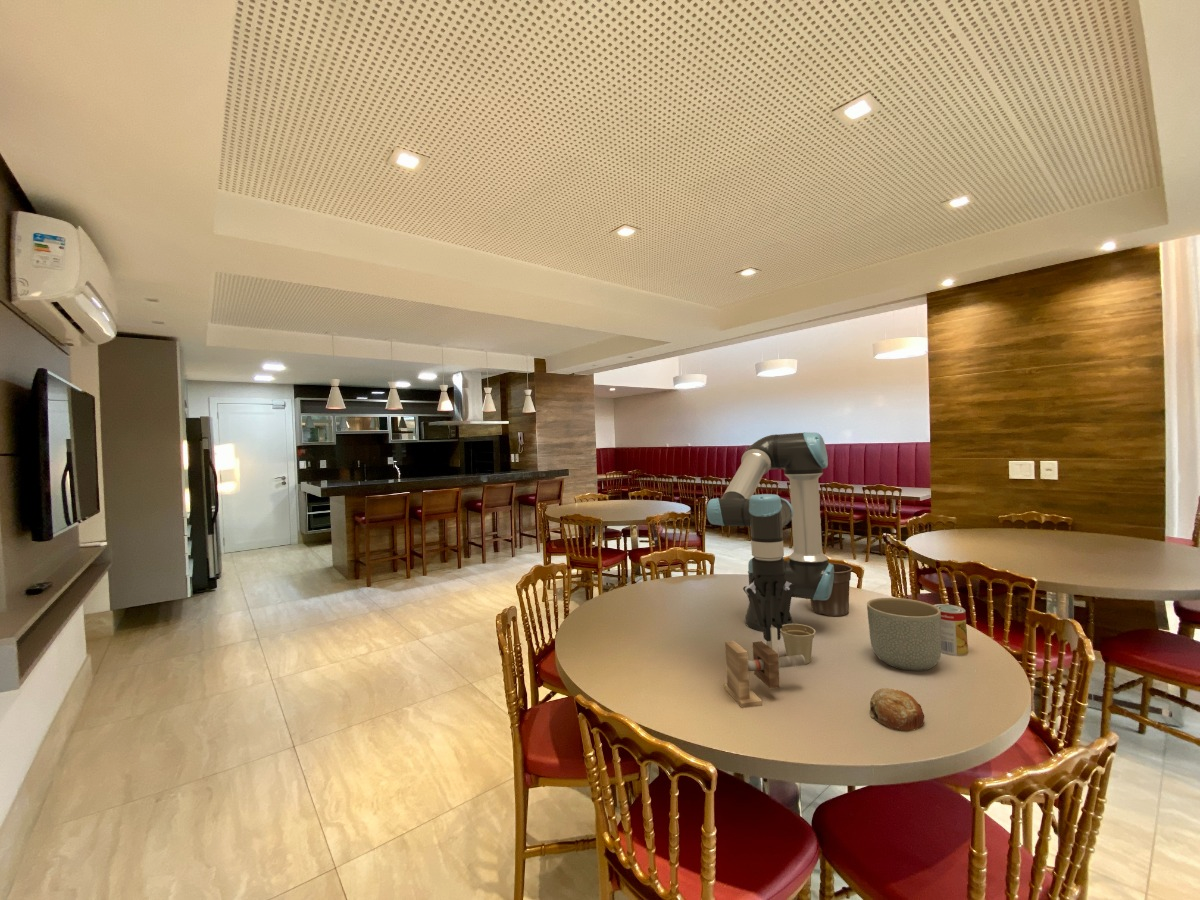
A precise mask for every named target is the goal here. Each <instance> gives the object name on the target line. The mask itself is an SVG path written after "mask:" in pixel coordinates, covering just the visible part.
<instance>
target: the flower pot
mask: <svg viewBox="0 0 1200 900" xmlns="http://www.w3.org/2000/svg"><path fill="white" fill-rule="evenodd" d="M782 626H783V627H782V628H781V629H780V631H781V632H780V635H781V637H782V639H783V643H784V648H785V655H786V656H794V655H803V656H804V658H805V665H808V664H809V663H810V662H812V651H813V639H814V638H815V634H816V629H814V628H813V627H812V626H809V625H806V624H799V623H792V624H785V625H782Z"/></svg>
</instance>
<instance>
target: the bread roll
mask: <svg viewBox="0 0 1200 900" xmlns="http://www.w3.org/2000/svg"><path fill="white" fill-rule="evenodd" d="M869 707H870V710H869V712H870V717H871V718H872V719H873V720H875V721H877V722H878V723H879V724H882V725H883V726H885V727H887V728H889V729H892V730H895V731H901V732H902V731H903V732H911V731H914V729H915V730H918V729H920V728H922V726H923V724H924V723H925V714H924V712H923V711H924V710H923V708H922V706H921V704H920V703H918V701H917V700H916V699H915V697H913V696H912V695H910V694H909V693H907V692H905V691H903V690H899V689H894V688H893V689H892V688H886V687H885V688H882V687H881V688H879V689H877V690H876V691H874V693H873V695H872V696H871V698H870V701H869ZM917 728H918V729H917Z"/></svg>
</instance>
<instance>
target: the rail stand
mask: <svg viewBox="0 0 1200 900" xmlns="http://www.w3.org/2000/svg"><path fill="white" fill-rule="evenodd" d="M724 644H725V662H726V663H725V665H726V680H727V681H726V682H727V683H724V684H723V687H724V689H725V690H726V692H728V693H729V695H730V696H731V697H732V698H733V700H734V701H735V702H736V703H737V704H738V705H739V706H740V708H742V709H743V708H750V707H751V708H752V707H758V706H759V707H760V706H763V700H762V699H761V698H760V697H759V696H757V694H756V693H755V692H754V691H753V690H752V689H751V688H750V677H749V676H750V674H749V673H750V672H754V671H760V670H764V661H763V660H762V659H759V660H758V659H756V660H753V659H752V660H748V659H749V657H748V656H749V655H748V651H747V650H746V649H744V647H742V646H741V645H740V644H739V643H737V642H736V640H733V641H726V642H724ZM778 662H779V669H784V668H790V667H799V666H805V665H806V664H805V658H804V656H803V655H794V656H787V655H786V656H778Z"/></svg>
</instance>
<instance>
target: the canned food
mask: <svg viewBox="0 0 1200 900" xmlns="http://www.w3.org/2000/svg"><path fill="white" fill-rule="evenodd" d="M933 605H934V606H936V607H937V608H939V609H940V612H941V654H944V655H947V656H956V657H964V656H967V655H968V654H969V648H968V646H969V645H968V632H967V630H968V629H967V613H966V609H965V608H963V607H962V606H959V605H953V604H944V603H937V604H933Z"/></svg>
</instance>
